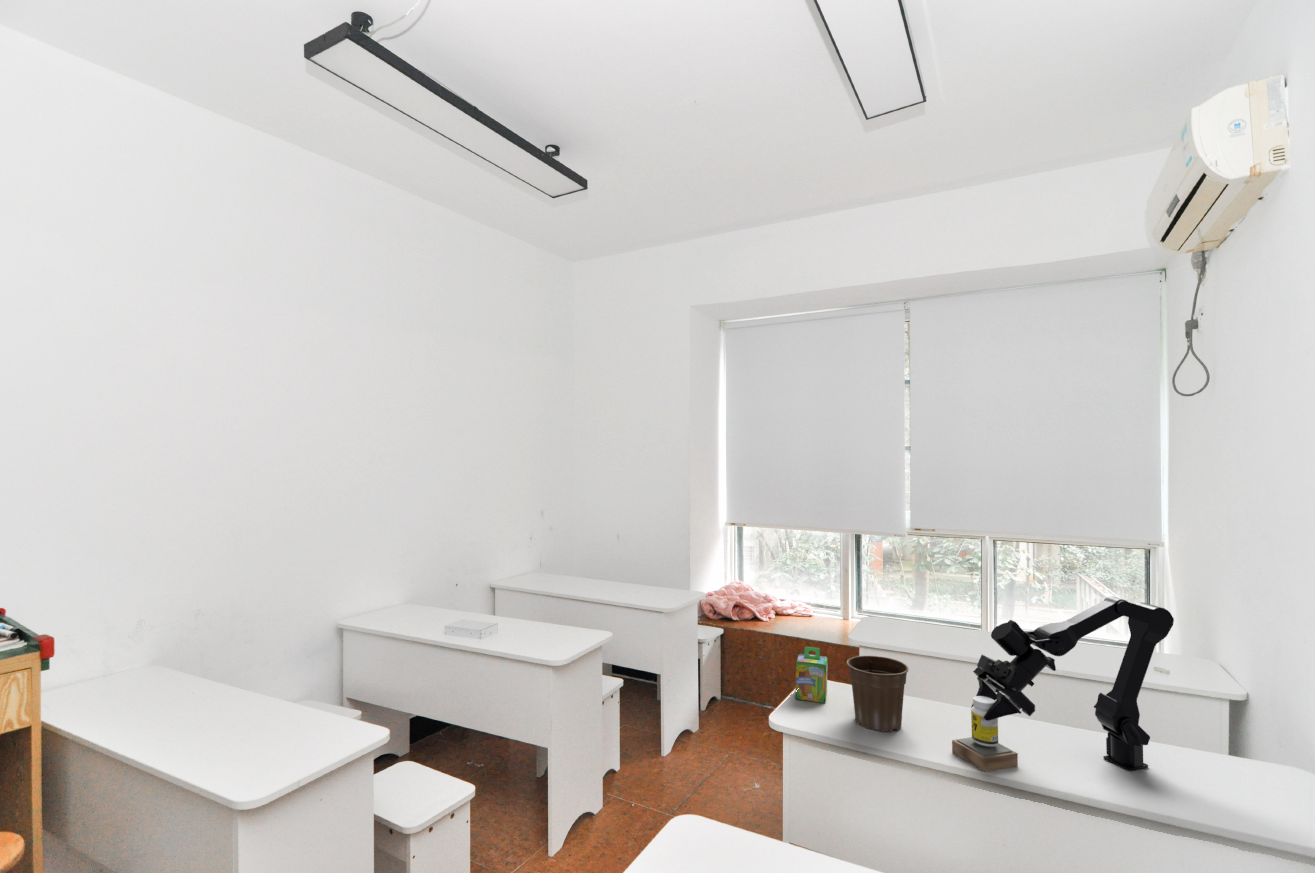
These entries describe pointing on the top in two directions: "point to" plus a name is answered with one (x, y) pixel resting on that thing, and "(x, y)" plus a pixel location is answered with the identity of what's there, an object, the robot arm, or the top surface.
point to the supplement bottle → (983, 722)
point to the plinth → (985, 754)
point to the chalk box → (811, 676)
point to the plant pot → (878, 691)
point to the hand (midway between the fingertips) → (978, 713)
